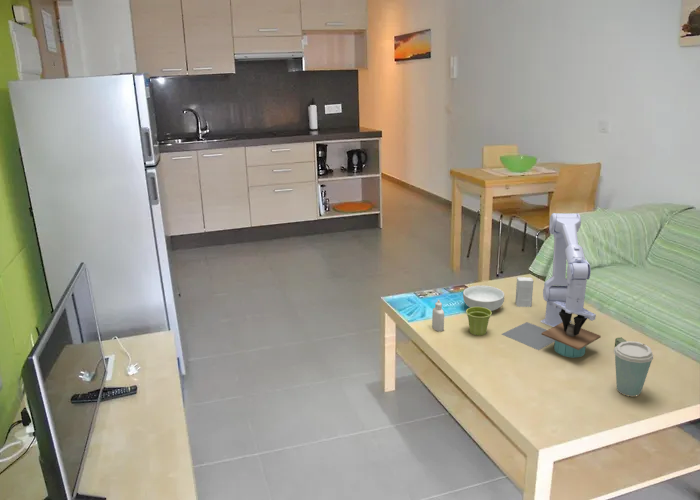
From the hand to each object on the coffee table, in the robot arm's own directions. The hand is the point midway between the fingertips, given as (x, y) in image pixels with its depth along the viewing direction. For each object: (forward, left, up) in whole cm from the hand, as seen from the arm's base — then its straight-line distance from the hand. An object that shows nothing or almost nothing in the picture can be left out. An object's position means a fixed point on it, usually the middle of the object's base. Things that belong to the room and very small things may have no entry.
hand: (571, 332), depth 190 cm
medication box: (-13, +15, -8) cm, 21 cm away
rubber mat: (0, -15, -7) cm, 17 cm away
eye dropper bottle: (+22, -42, -8) cm, 48 cm away
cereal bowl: (-6, -43, -8) cm, 44 cm away
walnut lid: (0, 0, -1) cm, 1 cm away
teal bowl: (0, 0, -7) cm, 7 cm away
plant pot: (+13, -30, -8) cm, 34 cm away
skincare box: (-21, -34, -8) cm, 41 cm away
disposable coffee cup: (+9, +25, -8) cm, 28 cm away
